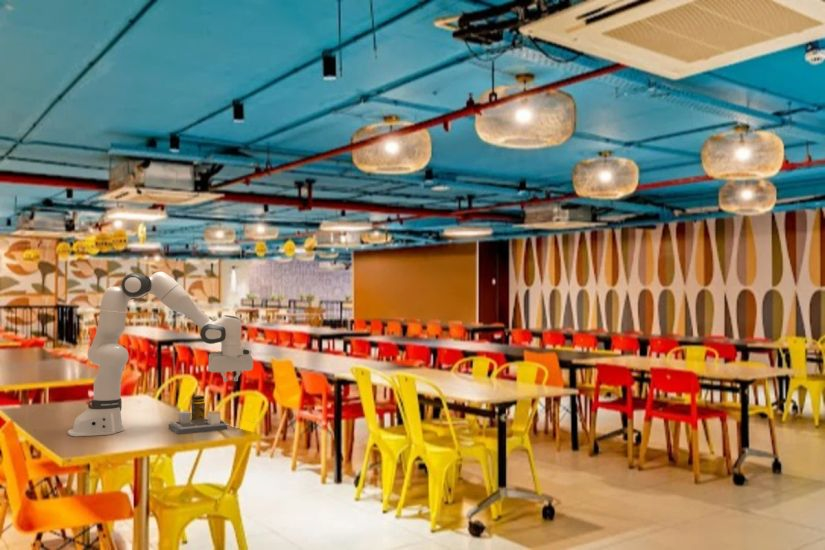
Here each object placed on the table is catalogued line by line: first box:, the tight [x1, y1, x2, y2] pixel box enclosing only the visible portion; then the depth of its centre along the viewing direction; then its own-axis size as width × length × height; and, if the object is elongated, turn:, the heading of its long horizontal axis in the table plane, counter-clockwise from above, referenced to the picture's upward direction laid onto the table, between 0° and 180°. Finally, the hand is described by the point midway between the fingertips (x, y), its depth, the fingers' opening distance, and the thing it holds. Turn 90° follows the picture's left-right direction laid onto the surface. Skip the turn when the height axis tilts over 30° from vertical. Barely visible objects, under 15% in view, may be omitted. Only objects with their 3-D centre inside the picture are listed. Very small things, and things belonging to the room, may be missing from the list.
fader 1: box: [178, 410, 192, 424], centre depth 333 cm, size 4×5×5 cm
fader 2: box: [207, 410, 221, 424], centre depth 333 cm, size 4×5×5 cm
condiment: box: [191, 394, 206, 420], centre depth 351 cm, size 7×8×12 cm
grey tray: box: [168, 418, 228, 435], centre depth 332 cm, size 22×15×3 cm
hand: (230, 381), depth 337 cm, fingers open, 3 cm apart
